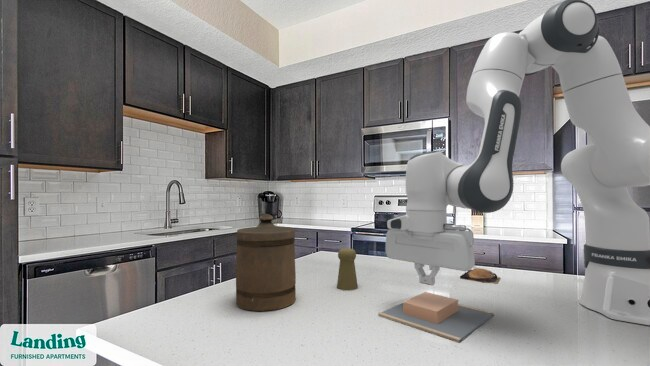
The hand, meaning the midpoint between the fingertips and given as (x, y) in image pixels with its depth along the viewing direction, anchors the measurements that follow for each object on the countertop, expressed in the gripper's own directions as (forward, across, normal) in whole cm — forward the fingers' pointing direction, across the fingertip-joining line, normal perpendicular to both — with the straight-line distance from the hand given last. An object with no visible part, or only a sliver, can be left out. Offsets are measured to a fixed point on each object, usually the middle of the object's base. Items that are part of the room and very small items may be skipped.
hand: (427, 283), depth 72 cm
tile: (+5, +3, 0) cm, 6 cm away
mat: (+6, -2, 0) cm, 7 cm away
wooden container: (+7, +33, +21) cm, 40 cm away
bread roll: (+7, +2, -38) cm, 38 cm away
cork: (+7, +26, -2) cm, 27 cm away
